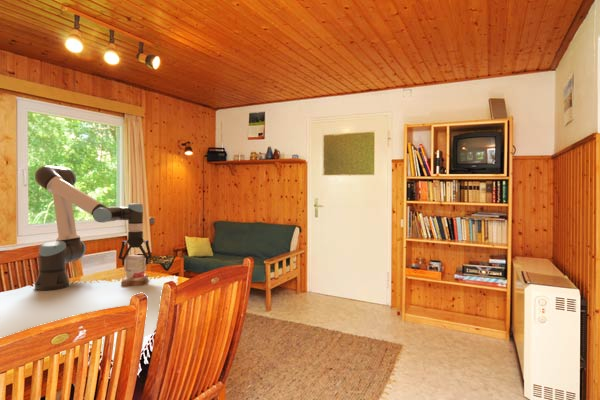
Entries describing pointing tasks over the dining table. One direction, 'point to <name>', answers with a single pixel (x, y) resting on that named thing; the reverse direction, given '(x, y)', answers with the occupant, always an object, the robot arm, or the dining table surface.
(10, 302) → the dining table surface
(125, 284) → the plinth
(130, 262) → the ink box
